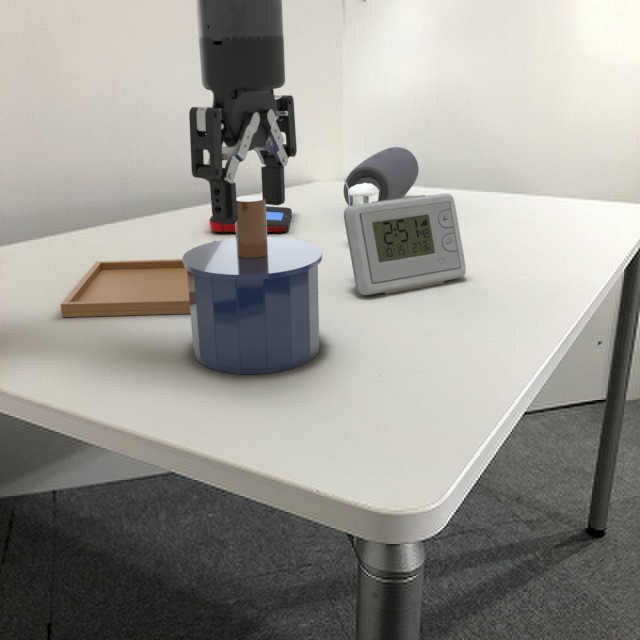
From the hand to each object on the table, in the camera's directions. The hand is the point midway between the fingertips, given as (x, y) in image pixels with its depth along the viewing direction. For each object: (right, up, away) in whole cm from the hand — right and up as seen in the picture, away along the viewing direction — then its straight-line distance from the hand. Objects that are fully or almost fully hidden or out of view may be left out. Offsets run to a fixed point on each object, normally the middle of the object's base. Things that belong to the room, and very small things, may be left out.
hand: (250, 213), depth 75 cm
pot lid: (0, -4, +2) cm, 5 cm away
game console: (-5, +6, +56) cm, 57 cm away
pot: (0, -13, +5) cm, 14 cm away
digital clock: (+17, -6, +24) cm, 30 cm away
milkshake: (+13, +1, +43) cm, 45 cm away
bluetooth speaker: (+18, +10, +65) cm, 69 cm away
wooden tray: (-15, -7, +23) cm, 28 cm away
